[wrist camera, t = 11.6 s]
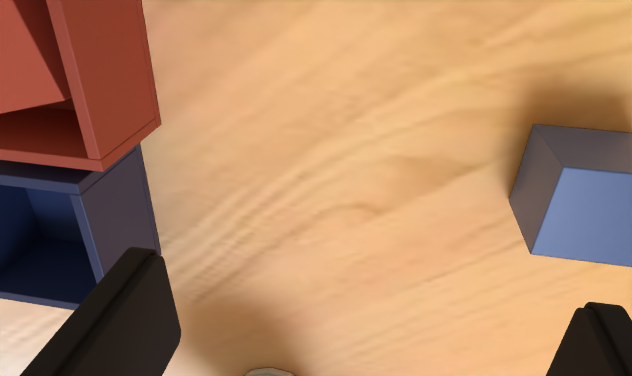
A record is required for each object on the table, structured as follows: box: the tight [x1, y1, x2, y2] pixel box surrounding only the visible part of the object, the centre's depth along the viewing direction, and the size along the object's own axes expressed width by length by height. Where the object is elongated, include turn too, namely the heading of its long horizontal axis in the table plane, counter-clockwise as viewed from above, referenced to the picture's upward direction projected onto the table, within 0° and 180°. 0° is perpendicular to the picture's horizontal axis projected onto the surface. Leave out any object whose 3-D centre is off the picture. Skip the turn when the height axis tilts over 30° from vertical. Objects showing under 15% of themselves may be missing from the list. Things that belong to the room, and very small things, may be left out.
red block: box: [0, 0, 72, 114], centre depth 20 cm, size 4×4×4 cm
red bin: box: [0, 0, 161, 172], centre depth 20 cm, size 9×9×6 cm
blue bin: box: [0, 143, 161, 310], centre depth 25 cm, size 9×9×6 cm
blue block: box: [509, 124, 632, 267], centre depth 19 cm, size 4×4×4 cm
